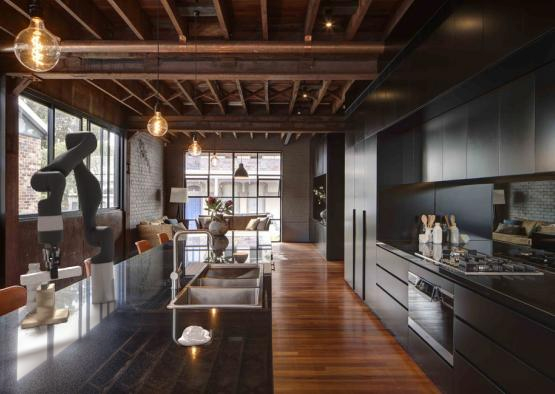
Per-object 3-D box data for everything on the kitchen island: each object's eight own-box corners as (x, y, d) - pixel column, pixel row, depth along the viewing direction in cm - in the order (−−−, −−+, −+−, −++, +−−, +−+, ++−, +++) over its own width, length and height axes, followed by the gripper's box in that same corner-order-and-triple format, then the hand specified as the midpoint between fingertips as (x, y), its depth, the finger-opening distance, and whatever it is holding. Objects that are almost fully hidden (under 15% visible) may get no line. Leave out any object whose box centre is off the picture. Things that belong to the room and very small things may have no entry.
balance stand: (68, 311, 148) (67, 276, 148) (67, 321, 135) (65, 282, 135) (27, 318, 141) (26, 280, 141) (21, 328, 129) (20, 287, 129)
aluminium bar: (78, 274, 135) (78, 266, 135) (81, 274, 133) (81, 266, 133) (20, 284, 121) (20, 275, 121) (23, 285, 119) (22, 276, 119)
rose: (194, 319, 118) (217, 323, 113) (195, 333, 118) (217, 338, 113) (170, 329, 109) (193, 334, 104) (171, 344, 109) (194, 350, 104)
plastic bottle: (36, 315, 145) (34, 265, 145) (21, 315, 146) (20, 265, 146) (49, 310, 151) (47, 262, 151) (35, 310, 152) (33, 262, 152)
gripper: (69, 228, 125) (71, 278, 125) (56, 227, 134) (58, 274, 134) (44, 230, 119) (46, 283, 119) (32, 229, 129) (34, 278, 129)
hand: (52, 278), depth 127 cm, fingers closed on aluminium bar, 3 cm apart
